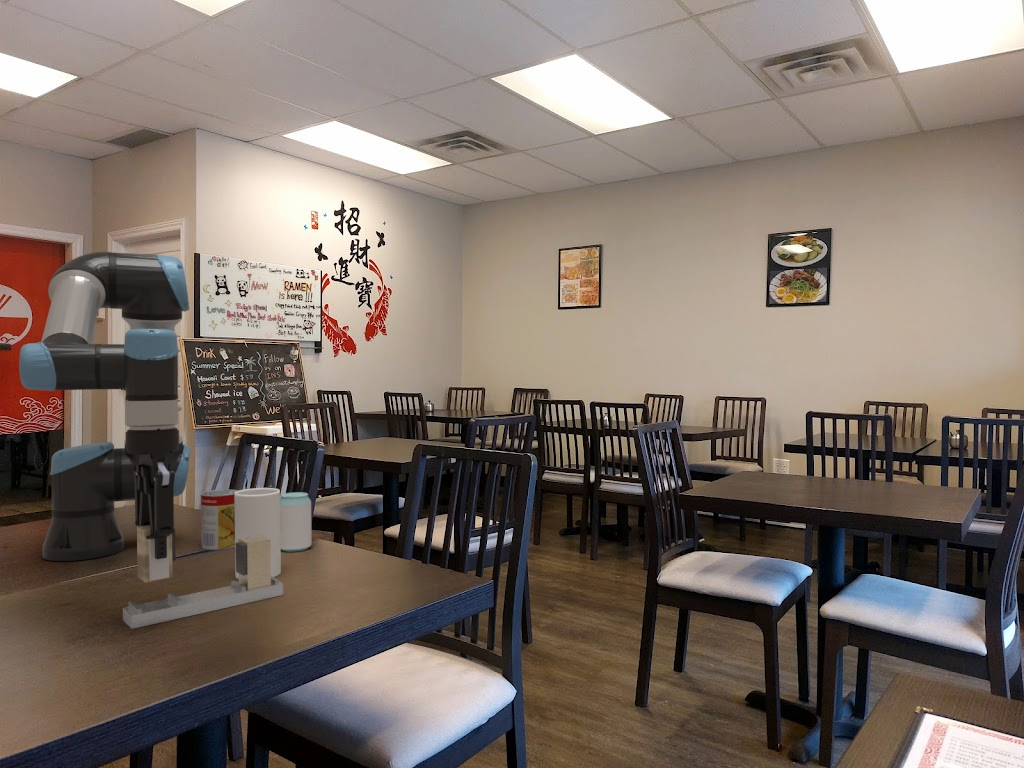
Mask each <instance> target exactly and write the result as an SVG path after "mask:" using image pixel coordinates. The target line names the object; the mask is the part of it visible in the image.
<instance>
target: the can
mask: <svg viewBox="0 0 1024 768" xmlns="http://www.w3.org/2000/svg"><path fill="white" fill-rule="evenodd" d="M280 540H281V551H282V552H287V553H295V552H301V551H305V550H308V549H309V548H310V547H311V546H312V542H313V541H312V500H311V499H310V497H309V493H307V492H300V491H299V492H298V491H297V492H286V493H282V494H280Z"/></svg>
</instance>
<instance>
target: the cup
mask: <svg viewBox="0 0 1024 768" xmlns="http://www.w3.org/2000/svg"><path fill="white" fill-rule="evenodd" d="M280 498H281V490H280V489H279V488H275V487H257V488H254V487H252V488H246V489H240V490H238V491H236V492H235V547H234V560H235V563H234V568H235V574H234V575H235V578H236V579H238V580H239V573H237V572H236V543H238V539H241V538H247V537H253V536H260V535H261V536H264V537H266V538H269V539H270V556H271V576H272V577H274V578H276V577H277V576H280V574H281V573H282V569H281V568H282V565H281V564H282V559H281V557H282V556H281V555H282V554H281V551H282V549H281V540H280Z"/></svg>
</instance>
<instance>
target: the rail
mask: <svg viewBox="0 0 1024 768" xmlns="http://www.w3.org/2000/svg"><path fill="white" fill-rule="evenodd" d="M236 572H237V573H239V579H238V581H236V580H231V581H230V585H228V586H223V587H218V588H214V589H213V588H212V589H207V590H203V591H198V592H192V593H187V594H184V595H178V596H177V595H175V594H174V593H172V592H170V593H167V598H165V599H164V598H163V599H159V600H154V601H149V602H144V603H140V604H138V603H136V602H135V601H134V600H129V601H128V606H126V607H122V621H123V622H124V624H126V625H127V626H128V627H129V628H130V629H131V630H133V629H138V628H142V627H147V626H151V625H156V624H160V623H165V622H169V621H172V620H173V621H174V620H178V619H181V618H183V619H184V618H187V617H190V616H195V615H201V614H204V613H209V612H214V611H218V610H222V609H223V610H224V609H226V608H232V607H235V606H241V605H244V604H249V603H254V602H258V601H259V602H260V601H262V600H266V599H268V600H269V599H271V598H277V597H280V596H284V583H282V582H281V581H280V580H279V579H278V578H276V577H272V576H271V556H270V539H269V538H266V537H264V536H261V535H260V536H253V537H247V538H241V539H238V543H236Z"/></svg>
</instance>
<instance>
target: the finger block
mask: <svg viewBox="0 0 1024 768" xmlns="http://www.w3.org/2000/svg"><path fill="white" fill-rule="evenodd" d="M147 535H151V529H150V525H146V526H136V545H137V546H136V549H137V550H136V551H137V556H136V557H137V561H136V562H137V565H136V566H137V578H138V579H139V580H141V581H142V582H144V583H150V582H155V581H161V580H167V579H172V578H173V577H174V576H173V562H175V561H176V528H174V533H173V534H170V536H169V578H164V579H159V580H153V581H150V580H149V539H148V540H147V539H146V536H147Z"/></svg>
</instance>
